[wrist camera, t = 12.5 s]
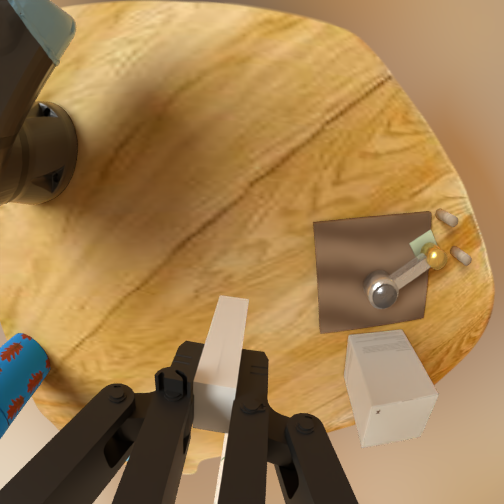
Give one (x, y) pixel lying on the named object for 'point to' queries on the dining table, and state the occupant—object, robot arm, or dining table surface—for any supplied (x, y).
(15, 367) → the thermos
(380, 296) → the crank handle
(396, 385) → the supplement box
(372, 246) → the dial board
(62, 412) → the dining table surface
